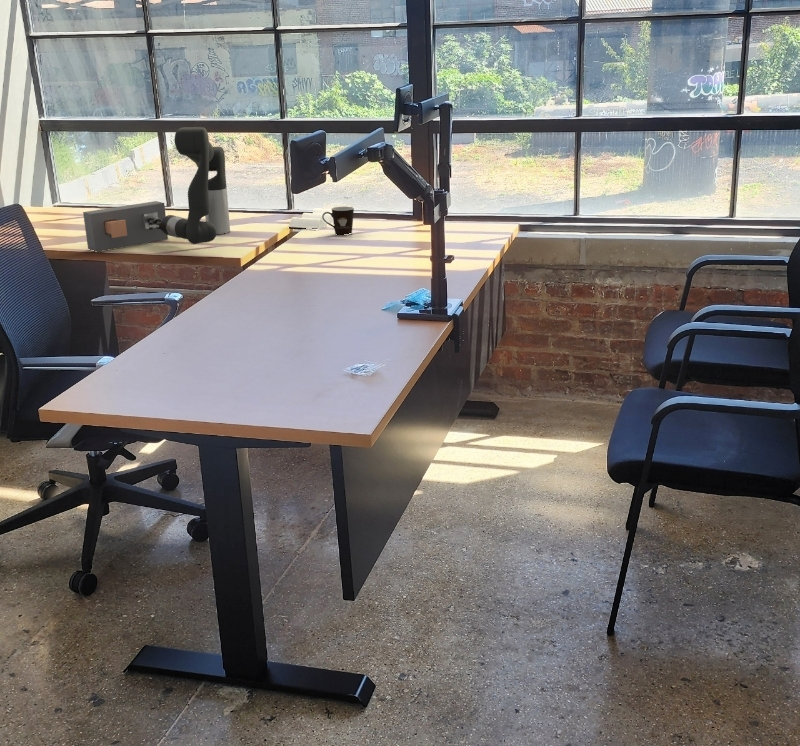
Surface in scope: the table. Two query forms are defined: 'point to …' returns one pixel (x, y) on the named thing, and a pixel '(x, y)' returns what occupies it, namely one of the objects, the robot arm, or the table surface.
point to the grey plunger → (148, 216)
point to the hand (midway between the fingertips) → (151, 220)
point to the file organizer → (315, 217)
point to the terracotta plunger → (115, 228)
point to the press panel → (134, 226)
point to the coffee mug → (341, 219)
